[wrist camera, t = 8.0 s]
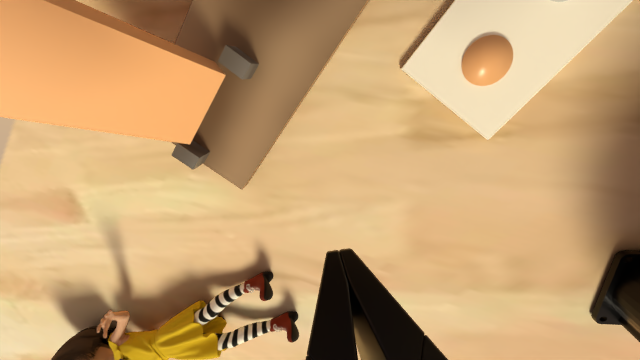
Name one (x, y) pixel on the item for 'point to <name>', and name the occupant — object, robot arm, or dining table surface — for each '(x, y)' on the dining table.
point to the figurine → (178, 331)
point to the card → (503, 53)
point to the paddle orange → (99, 73)
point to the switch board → (258, 73)
